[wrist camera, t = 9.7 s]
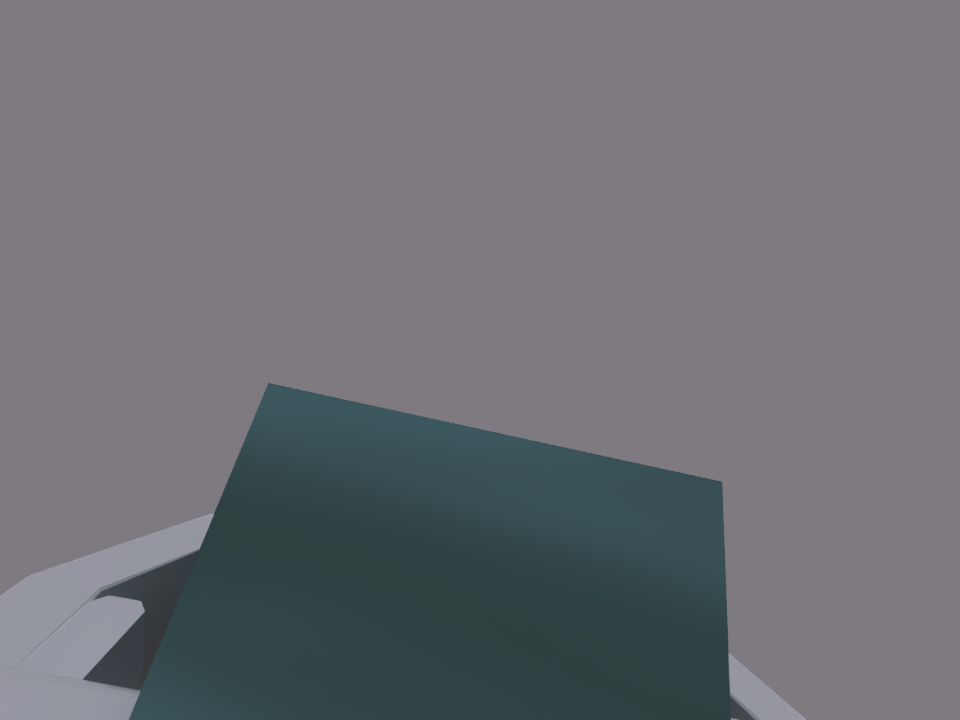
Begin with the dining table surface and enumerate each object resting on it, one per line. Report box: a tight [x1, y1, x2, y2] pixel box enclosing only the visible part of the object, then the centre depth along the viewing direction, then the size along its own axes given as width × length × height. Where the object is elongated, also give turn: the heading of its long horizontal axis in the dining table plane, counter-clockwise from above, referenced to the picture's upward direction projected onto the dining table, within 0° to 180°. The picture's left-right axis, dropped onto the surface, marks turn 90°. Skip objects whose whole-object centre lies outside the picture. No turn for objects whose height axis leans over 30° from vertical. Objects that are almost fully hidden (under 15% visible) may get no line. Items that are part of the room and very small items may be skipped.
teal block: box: [129, 383, 731, 720], centre depth 16 cm, size 28×4×3 cm, turn 5°
